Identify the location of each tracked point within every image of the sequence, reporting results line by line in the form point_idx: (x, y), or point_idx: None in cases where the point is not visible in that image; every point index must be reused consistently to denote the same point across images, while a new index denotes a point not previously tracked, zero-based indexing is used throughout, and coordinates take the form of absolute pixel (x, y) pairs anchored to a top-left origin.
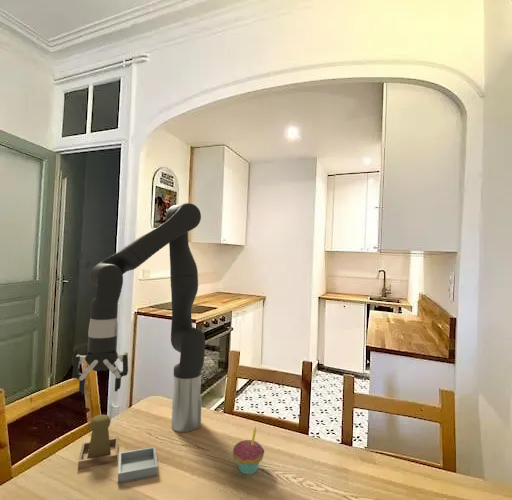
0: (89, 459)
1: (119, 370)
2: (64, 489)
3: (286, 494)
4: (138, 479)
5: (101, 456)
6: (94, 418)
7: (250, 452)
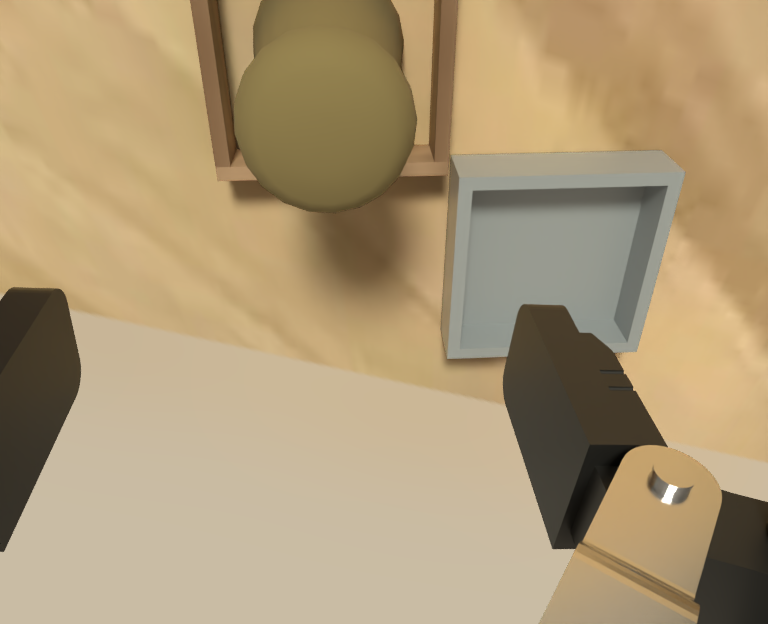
0: None
1: (702, 557)
2: (204, 305)
3: None
4: None
5: None
6: (265, 149)
7: None
